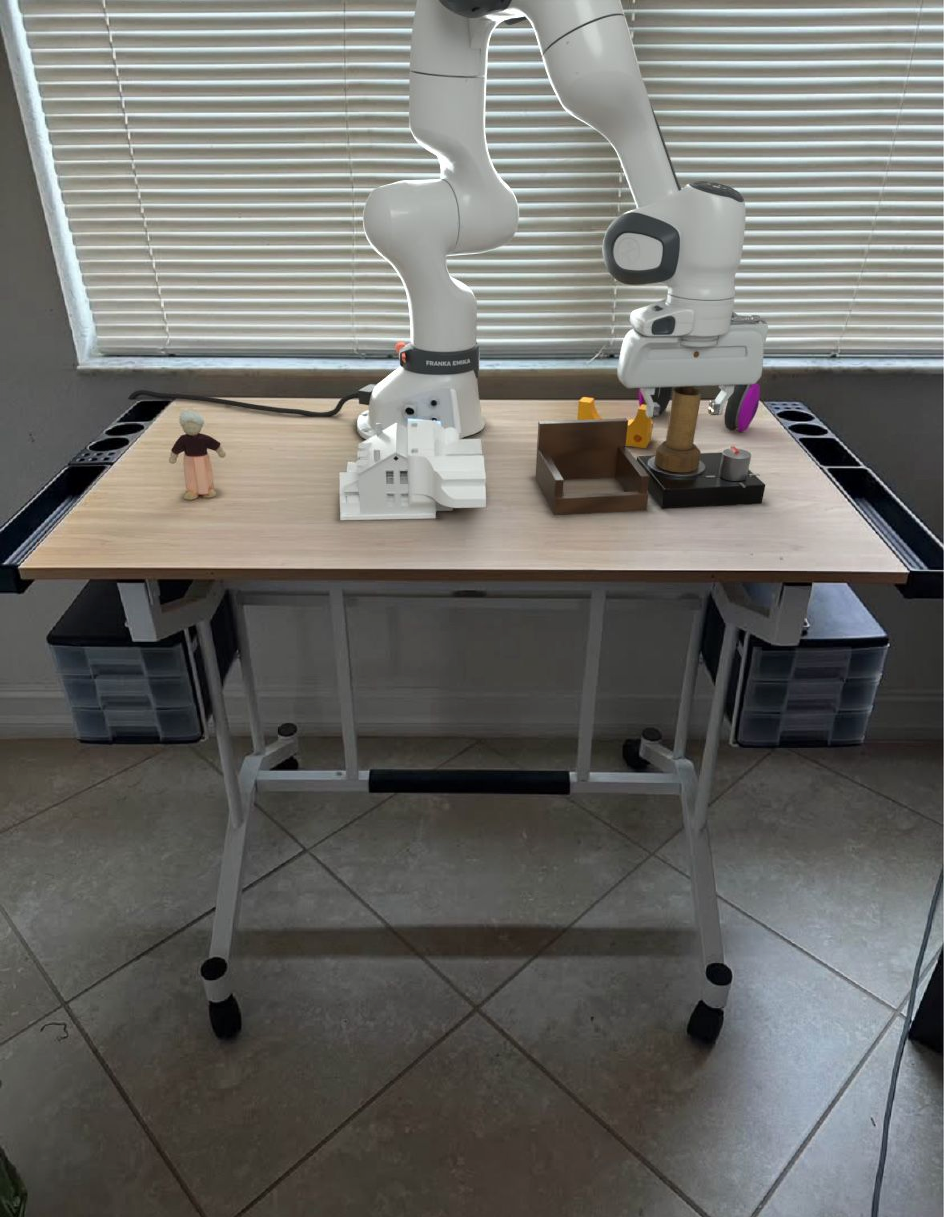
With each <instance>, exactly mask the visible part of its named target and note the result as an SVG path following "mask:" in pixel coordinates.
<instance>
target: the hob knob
mask: <svg viewBox="0 0 944 1217" xmlns="http://www.w3.org/2000/svg"><path fill="white" fill-rule="evenodd" d="M721 452H722V458H721V464H720V470H719V476H720V477H721V478H723V479H725V480H729V481H743V480H746V479H747V475H748V470H750V464H751V460H752V453H751V452H750V451H748V450H745V449H743V448H736V446H734V445H733V446H730V448H725V449H723V450H722V451H721Z"/></svg>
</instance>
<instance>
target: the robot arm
mask: <svg viewBox="0 0 944 1217" xmlns="http://www.w3.org/2000/svg"><path fill="white" fill-rule="evenodd" d="M414 9H415V10H414V15H413V22H412V29H411V39H410V51H409V76H408V77H409V78H408V79H409V81H408V82H409V87H408V89H409V90H408V95H409V97H408V102H409V103H408V126H409V129H410V132H411V134H412V137H413V138H414V140H415V141H416V142H417V144H419V145H420V146H421V147H422V148H424V149H425V150H426V151H428V152H429V153H431V154H433V155H435V156H436V157H437V160H438V163H439V166H440V177H439V178H438V179H437V178H436V179H412V180H410V179H409V180H399V181H396V182H393V183H388V184H385V185H382V186H378V187H375V188H374V189H373V190H372V191H371V192H370V193H369V195H368V197H367V198H366V201H365V204H364V207H363V213H362V224H363V230H364V234H365V237H366V240H367V241H368V243H369V245H370V246H371V248H372V250H374V251H375V252H376V253H377V254H378V255H380V257H382V258H383V259H384V260H386V261H387V262H388V263H389V264H390V265H391V266H392V267H393V269H394V270H395V272H396V273H397V276H398V277H399V278H400V280H401V282H402V285H403V287H404V290H405V293H406V298H407V303H408V310H409V311H408V312H409V326H410V327H409V328H410V342H409V343H407V344H406V343H405V341H397V342H396V344H395V347H394V349H395V353H396V354H397V355H398V356H399V357H398V359H399V360H398V361H399V367H397V368H396V369H395V370H394V371H392V372H391V373H390V374H389V375H387V376H386V377H385V378H383V379H382V380H381V381H380V382H378V383H377V384H373V383H370V384H368V385H366V386H363V387H362V388H360V389H359V390H358V391H356V392H352V393H349V394H346V395H345V396H343V397H341V398H340V400H339V401H338V402H337V404H336V406H335V407H334V408H333V409H331V410H329V411H323V412H321V411H312V410H307V409H306V410H305V409H299V408H287V407H278V406H277V407H276V406H270V405H269V406H268V405H261V404H255V403H248V402H243V401H237V400H231V399H224V398H218V397H212V396H211V397H210V396H202V395H194V394H181V393H167V392H166V393H165V392H157V391H153V390H147V389H138V390H135V391H134V392H132V393H131V394H130V395H129V396H128V398H127V400H134V399H136V398H137V397H139V396H147V397H153V398H158V399H170V400H171V399H172V400H173V399H174V400H186V401H195V402H196V401H197V402H205V403H213V404H217V405H218V404H219V405H225V406H232V407H236V408H237V407H238V408H244V409H249V410H257V411H263V412H271V413H279V414H289V415H299V416H306V417H312V418H313V417H315V418H316V417H317V418H325V417H326V418H328V417H333V416H335V415H337V414H339V412H340V411H342V408H343V406H344V404H345V403H347V402H348V401H350V400H353V399H358V404H359V405H364V406H368V410H365V411H363V412H362V413H360V414H359V415H358V417H357V420H356V431H357V433H358V435H359V436H360V437H361V438H363V439H364V440H365V441H366V440H367V439H369V438H371V437H373V436H374V435H376V434H377V433H376V423H382V431H383V430H385V429H386V428H388V427H390V426H391V425H393V424H395V423H399V424H401V425H402V426H404V427H406V428H408V421H415V420H432V422H433V421H434V420H435V421H436V422H438V423H439V424H440V425H441V426H442V427H443V428H444V429H446V428H450V427H451V428H455V429H456V430H458V433H459V439H464V438H466V437H469V436H472V435H475V434H478V433H479V432H481V431H482V430H483V429H484V428H485V426H486V423H485V419H484V416H483V412H482V406H481V402H480V395H479V394H480V393H479V383H478V378H479V375H480V374H479V373H480V366H481V364H480V363H481V361H480V360H481V359H480V358H481V357H480V356H481V355H480V354H481V353H480V345H479V344H478V342H477V332H478V329H477V327H478V324H477V322H478V320H477V319H478V301H477V298H476V296H475V294H474V292H473V291H472V289H471V288H470V287H469V286H467V285H466V284H465V283H463V282H462V281H460V280H457V279H456V278H454V277H452V276H451V275H450V272H449V270H448V265H447V264H448V263H447V257H451V256H452V257H453V256H462V255H474V254H475V255H476V254H484V253H487V252H490V251H494V250H496V249H499V248H503V247H505V246H507V245H508V244H509V243H510V242H511V241H512V239H513V238H514V237H515V234H516V232H517V229H518V226H519V221H520V208H519V204H518V200H517V197H516V195H515V193H514V192H513V190H512V188H511V187H510V186H509V185H508V184H507V183H506V182H505V181H504V180H503V179H502V178H501V176H500V175H499V173H498V172H497V170H496V168H495V167H494V164H493V161H492V159H491V156H490V152H489V150H488V149H489V148H488V143H487V137H486V98H487V97H486V96H487V95H486V93H487V78H488V77H487V74H488V54H489V44H490V39H491V36H492V34H493V32H494V30H495V29H496V27H497V26H498V25H499V24H501V23H502V22H503V23H504V24H505V25H507V26H512V25H515V24H518V23H521V22H524V21H527V20H528V21H529V23H530V24H531V27H532V28H533V29H532V30H533V31H534V34H535V37H536V41H537V44H538V47H539V51H540V55H541V58H542V61H543V64H544V68H545V72H546V74H547V78H548V80H549V83H550V86H551V88H552V89H553V91H554V93H555V95H556V97H557V99H558V101H559V103H560V105H561V106H562V108H563V109H564V110H565V111H566V112H567V113H568V114H570V115H571V116H572V117H574V118H575V119H577V120H579V121H581V122H582V123H585V124H586V125H587V126H589V127H591V128H593V129H594V130H596V132H598V133H599V134H600V135H602V137H604V139H606V140H607V141H608V142H609V143H610V145H611V146H612V148H613V149H614V151H615V153H616V155H617V157H618V160H619V162H620V165H621V168H622V170H623V173H624V175H625V179H626V181H627V185H628V187H629V190H630V192H631V195H632V198H633V202H634V204H635V207H636V208H634V209H631V210H628V211H626V212H624V213H621V215H619V216H617V217H616V218H615V219H613V221H612V222H611V223H610V224H609V226H608V227H607V229H606V231H605V233H604V237H603V240H602V246H601V247H602V249H601V250H602V259H603V263H604V266H605V267H606V270H607V272H608V273H609V274H610V276H611V277H613V279H615V280H616V281H618V282H619V283H622V284H624V285H627V286H628V285H629V286H636V287H637V286H645V285H650V284H651V285H652V284H658V283H662V284H665V285H666V286H667V292H666V293H667V295H666V298H664V299H661V300H659V301H656V302H653V303H651V304H648V305H644V306H642V307H639V308H636V309H634V310H632V311H631V313H630V315H629V324H630V325H631V327H632V329H629V331H628V332H627V333H626V334H625V336H624V337H623V340H622V344H621V347H620V352H619V357H618V363H617V371H616V375H617V379H618V380H619V382H620V383H621V384H622V385H623V386H624V387H625V388H626V389H639V388H641V390H640V391H641V393H642V395H643V398H644V400H645V402H646V403H647V404H646V416H647V417H648V418H652V419H655V418H660V415H659V411H660V405H658V403H656V402H653V400H652V398H651V396H650V394H651V395H654V393H655V387H672V388H676V387H686V386H694V387H711V386H713V387H714V386H718V389H720V391H719V393H718V394H717V396H716V397H715V398H714V399H713V400H708V408H707V413H708V415H710V416H722V415H723V411H724V405H725V404H727V402H728V399H729V397H730V396H731V395H732V394H733V392H734V387H735V386H736V385H747V384H755V383H757V382H758V381H759V380H760V379H761V377H762V374H763V368H764V355H765V354H764V349H765V348H764V346H765V343H766V340H767V336H768V333H769V332H768V331H769V325H768V322H767V321H766V320H765V319H763V318H761V316H760V315H757V314H750V315H738V314H737V315H734V316H733V315H732V311H733V310H734V304H735V297H736V286H735V280H736V274H737V271H738V268H739V267H740V263H741V261H742V254H743V248H744V240H745V233H746V232H745V231H746V219H747V218H746V217H747V216H746V214H747V211H746V202H745V199H744V197H743V195H742V194H741V193H740V192H739V191H738V190H736V189H735V188H734V187H731V186H728V185H725V184H722V183H719V182H713V181H711V182H710V181H705V180H695V181H690V182H689V183H687V184H686V185H685V186H684V187H683V188H682V186H681V185H680V182H679V180H678V176H677V174H676V171H675V167H674V166H673V162H672V159H671V156H670V154H669V150H668V148H667V145H666V142H665V138H664V136H663V133H662V131H661V127H660V124H659V121H658V118H657V117H656V116H657V115H656V113H655V111H654V109H653V106H652V103H651V101H650V98H649V94H648V91H647V88H646V85H645V82H644V80H643V76H642V73H641V69H640V65H639V62H638V58H637V55H636V51H635V47H634V44H633V39H632V36H631V32H630V29H629V25H628V22H627V18H626V15H625V12H624V9H623V5H622V2H621V0H416V3H415V8H414ZM696 351H698V352H699V356H698V357H696V358H695V357H694V356H693V354H694V352H696Z"/></svg>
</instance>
